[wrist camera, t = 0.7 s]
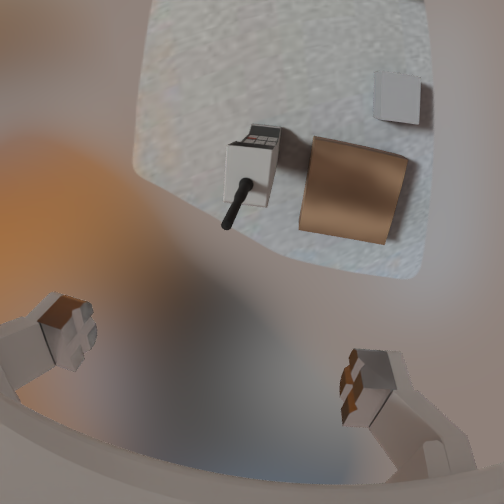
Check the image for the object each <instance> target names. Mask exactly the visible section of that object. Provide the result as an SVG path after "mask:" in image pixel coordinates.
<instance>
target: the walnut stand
mask: <svg viewBox="0 0 504 504" xmlns="http://www.w3.org/2000/svg"><path fill="white" fill-rule="evenodd" d="M407 163H408V160H407V159H406V158H404V157H403V156H401V155H398V154H395V153H391V152H387V151H383V150H378V149H374V148H370V147H366V146H361V145H357V144H352V143H347V142H342V141H337V140H332V139H327V138H322V137H317V136H314V137H313V143H312V149H311V155H310V161H309V167H308V173H307V178H306V184H305V190H304V195H303V201H302V206H301V211H300V217H299V230H302V231H308V232H314V233H320V234H326V235H331V236H337V237H343V238H349V239H354V240H360V241H365V242H371V243H376V244H382V245H385V242H386V239H387V236H388V232H389V229H390V226H391V222H392V219H393V216H394V212H395V209H396V205H397V202H398V198H399V194H400V191H401V187H402V183H403V179H404V175H405V171H406V167H407Z"/></svg>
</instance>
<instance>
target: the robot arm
mask: <svg viewBox="0 0 504 504" xmlns="http://www.w3.org/2000/svg"><path fill="white" fill-rule="evenodd" d="M92 314H93V308H92V304H91V303H89V302H88V301H84V300H81V299H77V298H74V297H71V296H68V295H63V294H60V293H57V292H51V293H49V294H48V295H47V296H46V297H45V298H44V299H43V300H42V301H41V302H40V303H39V304H38V305H37V306H36V307H35V308H34V309H33V310H32V311H31V312H30V313H29V314H28V315H27V316H26V317H20V318H17V319H14V320H12V321H9V322H6V323H3V324H1V325H0V504H504V462H503V463H500V464H496V465H492V466H489V467H484V468H481V469H477V467H476V463H475V459H474V456H473V453H472V449H471V446H470V443H469V440H468V437H467V435H466V434H465V433H464V432H463V431H461V429H459V428H458V427H457V426H456V425H455V424H454V423H453V422H452V421H451V420H450V419H449V418H448V417H446V416H445V415H444V414H443V413H442V412H441V411H440V410H439V409H437V407H436V406H435V405H433V404H432V403H431V402H430V401H429V400H428V399H427V398H426V397H425V396H424V395H423V394H421V393H420V392H419V391H418V390H414V389H413V386H412V382H411V379H410V376H409V373H408V370H407V367H406V364H405V360H404V358H403V355H402V353H401V352H400V351H381V350H366V349H355V348H354V349H353V350H352V352H351V354H350V356H349V364H350V365H348V366H347V367H345V368H344V371H343V373H342V376H341V380H340V391H339V392H340V398H341V399H342V400H343V401H344V404H343V406H342V408H341V415H342V426H346V427H347V426H348V427H365V428H366V427H367V428H369V430H370V432H371V433H372V434H373V436H374V437H375V439H376V440H377V441H378V443H379V444H380V446H381V447H382V448H383V450H384V451H385V453H386V454H387V455H388V457H389V458H390V459H391V461H392V462H393V464H394V465H395V466H396V468H397V469H398V471H397V472H396V473H395V474H393V475H392V476H391V477H390V478H389V479H388V480H387V481H386V482H385V483H379V484H357V485H323V484H300V483H286V482H275V481H266V480H258V479H249V478H243V477H236V476H230V475H224V474H218V473H214V472H208V471H204V470H199V469H194V468H190V467H185V466H181V465H177V464H173V463H169V462H166V461H162V460H158V459H155V458H151V457H148V456H145V455H141V454H138V453H135V452H132V451H129V450H126V449H123V448H120V447H117V446H114V445H111V444H109V443H105V442H103V441H100V440H98V439H95V438H92V437H90V436H88V435H85V434H83V433H80V432H78V431H76V430H73V429H71V428H69V427H66V426H64V425H62V424H60V423H58V422H56V421H54V420H51V419H49V418H47V417H45V416H43V415H41V414H39V413H37V412H35V411H33V410H31V409H29V408H28V407H26V406H24V405H22V404H21V401H20V399H19V397H18V396H17V394H16V392H15V390H17V389H19V388H20V387H22V386H23V385H25V384H27V383H29V382H30V381H32V380H34V379H35V378H37V377H39V376H40V375H42V374H44V373H45V372H47V371H49V370H50V369H52V368H54V367H55V365H56V366H59V367H61V368H65V369H67V370H70V371H73V372H76V371H77V369H78V367H79V366H80V365H81V363H82V362H83V361H84V359H85V358H84V353H85V352H87V351H90V350H91V349H92V347H93V346H94V344H95V342H96V338H97V326H96V323H95V321H94V320H93V319H92V317H91V316H92Z"/></svg>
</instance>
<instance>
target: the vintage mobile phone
mask: <svg viewBox="0 0 504 504" xmlns="http://www.w3.org/2000/svg"><path fill="white" fill-rule="evenodd" d="M280 136H281V127H277V126H268V125H259V124H251V127H250V130H249V134H248V135H247V136H246V137H245V138H244V139H243V140H242V141H241V142H237V141H235V142H233V143H231V144H228V145H227V149H226V164H225V179H224V195H223V202H226V203H232V204H231V206H230V208H229V210H228V212H227V214H226V216H225V218H224V220H223V222H222V224H221V226H222V228H223V229H224V230H229V229H231V227H232V224H233V222H234V220H235V218H236V215H237V213H238V211H239V209H240V206H241V204H242V205H250V206H258V207H265V208H267V206H268V202H269V197H270V193H271V189H272V184H273V180H274V176H275V171H276V167H277V162H278V153H279V144H280Z"/></svg>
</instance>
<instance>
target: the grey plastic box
mask: <svg viewBox="0 0 504 504" xmlns="http://www.w3.org/2000/svg"><path fill="white" fill-rule="evenodd" d="M420 91H421V77H418V76H413V75H407V74H401V73H395V72H388V71H377V72H374V98H373V117H374V118H377V119H380V120H388V121H396V122H403V123H410V124H417V125H419V115H420Z"/></svg>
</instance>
